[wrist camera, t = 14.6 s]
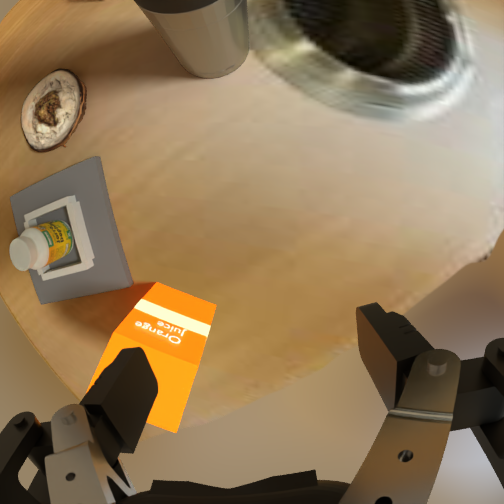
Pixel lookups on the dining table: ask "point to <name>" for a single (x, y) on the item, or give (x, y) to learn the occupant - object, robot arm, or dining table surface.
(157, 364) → the orange juice
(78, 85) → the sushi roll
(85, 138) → the dining table surface
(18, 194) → the socket board
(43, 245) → the supplement bottle
